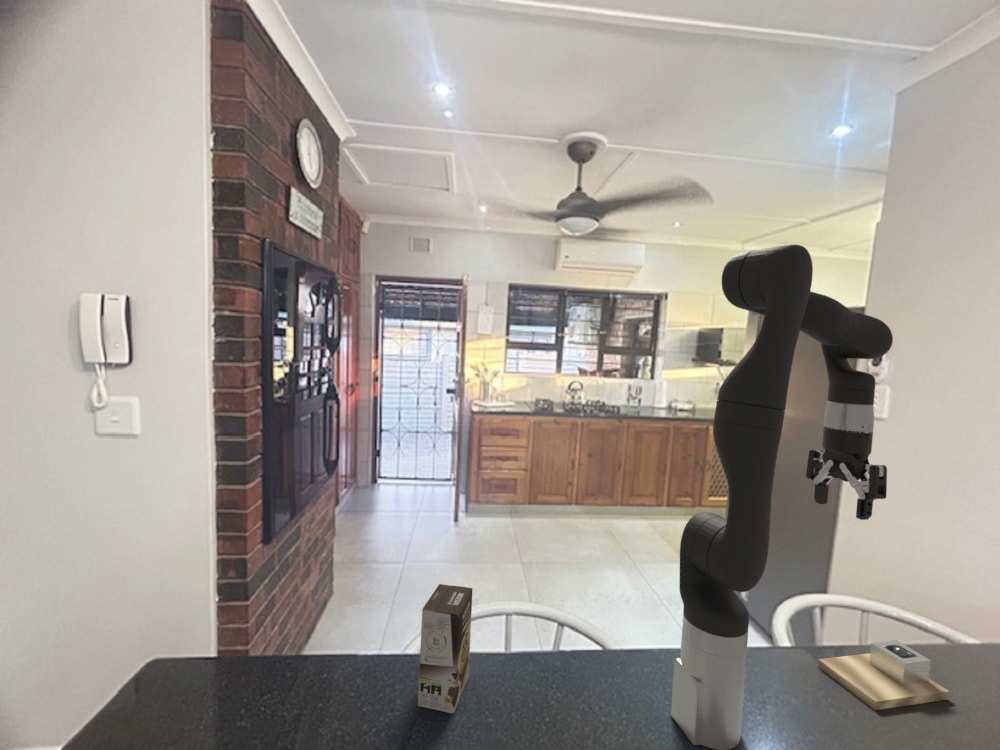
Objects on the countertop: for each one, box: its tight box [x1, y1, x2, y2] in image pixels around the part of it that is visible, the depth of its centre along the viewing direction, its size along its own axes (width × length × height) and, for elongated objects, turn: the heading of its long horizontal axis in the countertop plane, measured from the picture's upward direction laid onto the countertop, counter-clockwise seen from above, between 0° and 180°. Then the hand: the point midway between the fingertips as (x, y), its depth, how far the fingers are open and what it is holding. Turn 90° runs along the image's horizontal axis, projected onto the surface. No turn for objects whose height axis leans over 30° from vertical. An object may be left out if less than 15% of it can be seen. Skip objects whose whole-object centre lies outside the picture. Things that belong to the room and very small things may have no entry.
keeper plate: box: [817, 647, 950, 711], centre depth 86 cm, size 16×11×6 cm
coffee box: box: [417, 583, 473, 714], centre depth 78 cm, size 9×6×16 cm
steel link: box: [869, 639, 932, 685], centre depth 86 cm, size 6×6×4 cm
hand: (841, 510), depth 89 cm, fingers open, 8 cm apart
